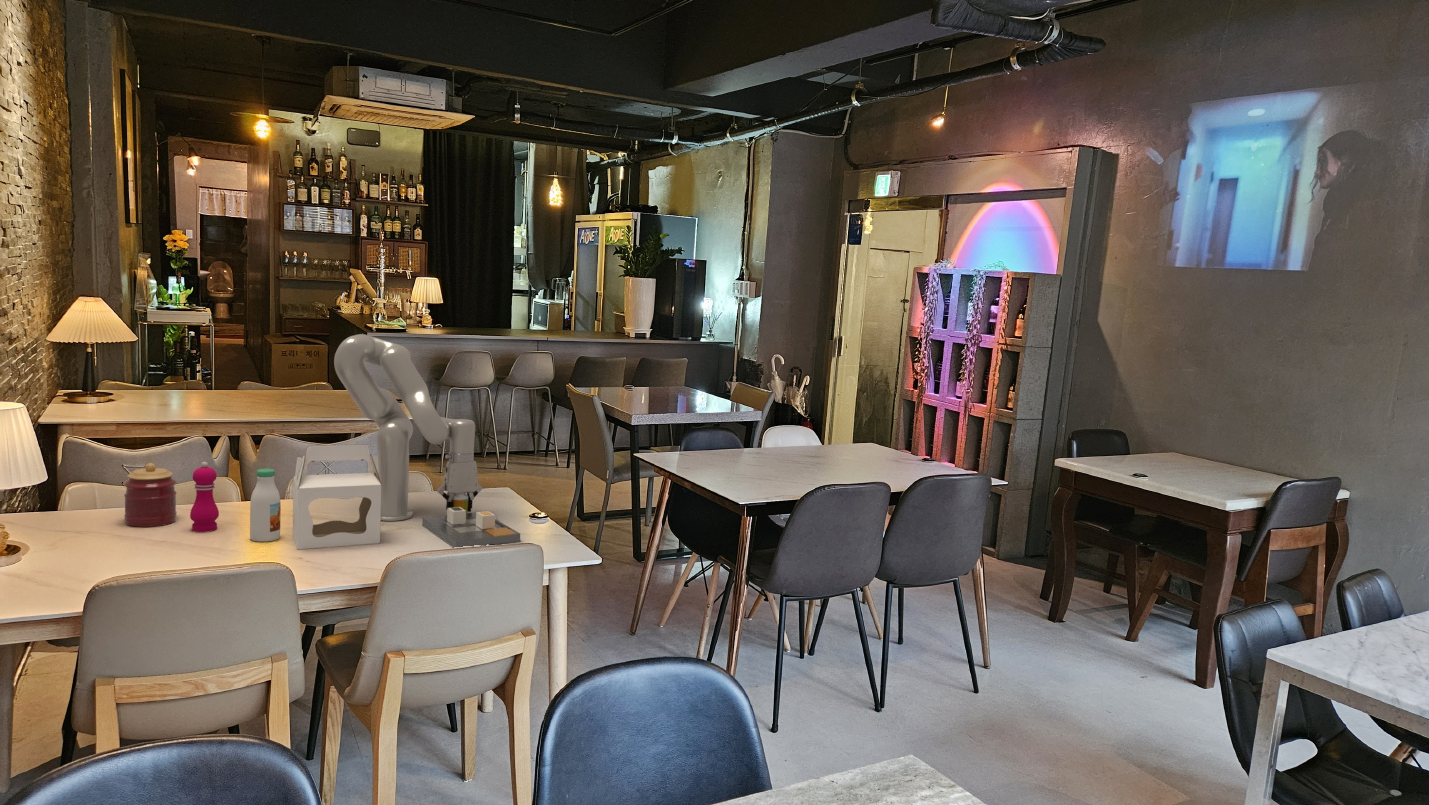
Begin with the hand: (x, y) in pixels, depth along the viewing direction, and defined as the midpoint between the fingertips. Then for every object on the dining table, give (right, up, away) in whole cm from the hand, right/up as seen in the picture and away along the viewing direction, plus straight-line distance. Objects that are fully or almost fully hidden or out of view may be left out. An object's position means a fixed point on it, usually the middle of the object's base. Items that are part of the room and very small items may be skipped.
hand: (459, 511), depth 288 cm
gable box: (-26, -4, -33) cm, 42 cm away
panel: (+8, -5, -17) cm, 20 cm away
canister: (-83, 0, -28) cm, 87 cm away
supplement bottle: (0, -2, 0) cm, 2 cm away
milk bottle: (-45, -3, -36) cm, 58 cm away
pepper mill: (-65, -1, -32) cm, 72 cm away
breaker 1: (+4, -2, -16) cm, 17 cm away
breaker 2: (+13, -3, -19) cm, 23 cm away
